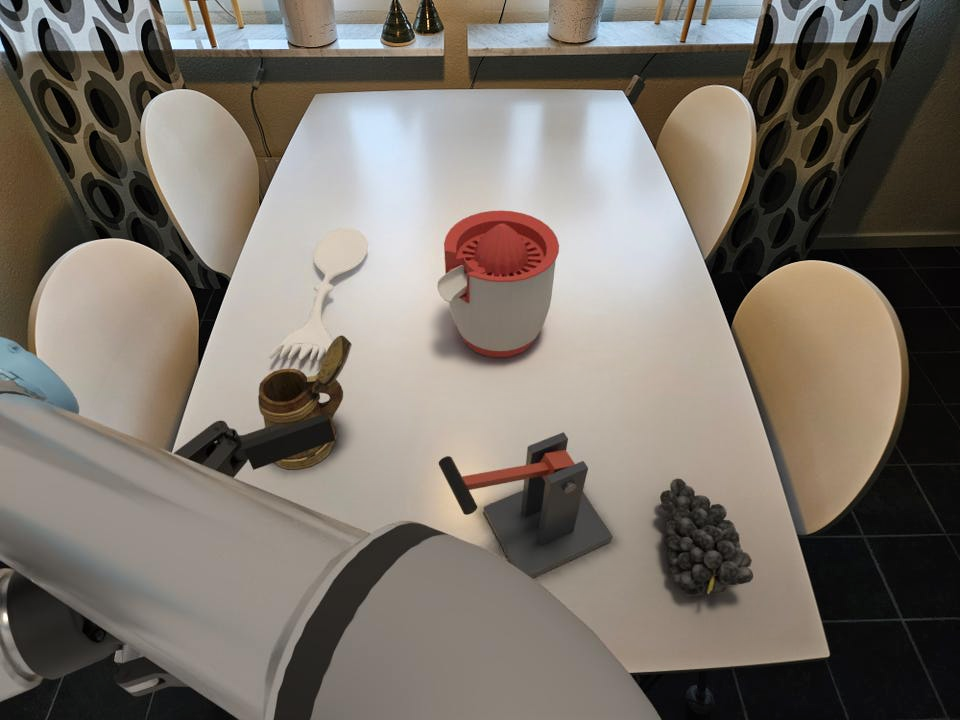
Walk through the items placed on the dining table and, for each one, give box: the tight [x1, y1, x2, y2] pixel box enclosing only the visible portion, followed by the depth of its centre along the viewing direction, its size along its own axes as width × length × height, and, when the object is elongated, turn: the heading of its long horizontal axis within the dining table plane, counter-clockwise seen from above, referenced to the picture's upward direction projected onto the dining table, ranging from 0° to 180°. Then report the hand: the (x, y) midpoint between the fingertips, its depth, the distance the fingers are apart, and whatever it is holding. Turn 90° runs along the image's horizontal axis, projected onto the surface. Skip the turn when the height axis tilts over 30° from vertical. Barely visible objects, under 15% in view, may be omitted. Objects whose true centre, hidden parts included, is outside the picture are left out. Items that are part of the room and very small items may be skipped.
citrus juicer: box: [436, 210, 560, 358], centre depth 92 cm, size 16×17×20 cm
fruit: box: [658, 477, 754, 597], centre depth 73 cm, size 9×8×15 cm
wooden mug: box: [257, 334, 352, 470], centre depth 79 cm, size 9×14×18 cm, turn 97°
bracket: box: [483, 431, 614, 579], centre depth 72 cm, size 12×10×15 cm
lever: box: [438, 449, 576, 516], centre depth 65 cm, size 14×6×2 cm, turn 116°
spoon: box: [268, 227, 369, 362], centre depth 104 cm, size 9×32×4 cm, turn 175°
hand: (358, 494), depth 46 cm, fingers open, 13 cm apart
